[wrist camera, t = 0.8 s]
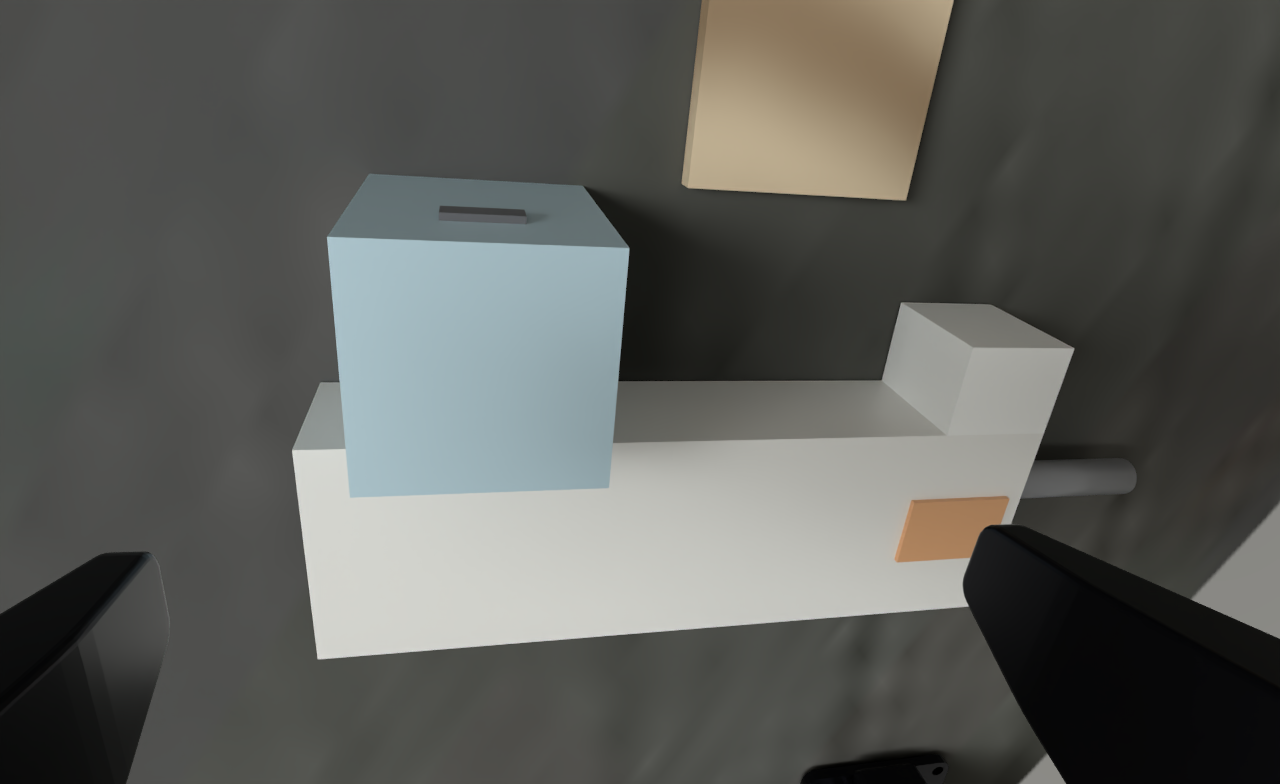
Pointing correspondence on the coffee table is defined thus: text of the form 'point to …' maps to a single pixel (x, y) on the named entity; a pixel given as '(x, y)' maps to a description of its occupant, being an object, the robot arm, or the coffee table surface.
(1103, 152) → the coffee table surface
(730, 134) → the board
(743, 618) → the power strip
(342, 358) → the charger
